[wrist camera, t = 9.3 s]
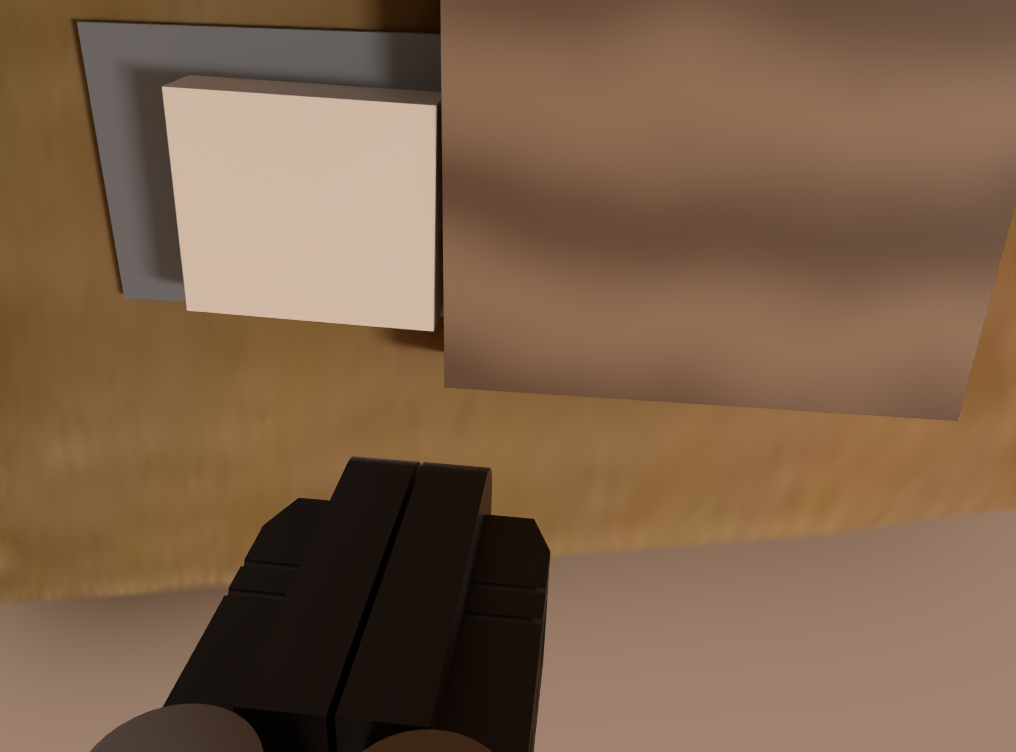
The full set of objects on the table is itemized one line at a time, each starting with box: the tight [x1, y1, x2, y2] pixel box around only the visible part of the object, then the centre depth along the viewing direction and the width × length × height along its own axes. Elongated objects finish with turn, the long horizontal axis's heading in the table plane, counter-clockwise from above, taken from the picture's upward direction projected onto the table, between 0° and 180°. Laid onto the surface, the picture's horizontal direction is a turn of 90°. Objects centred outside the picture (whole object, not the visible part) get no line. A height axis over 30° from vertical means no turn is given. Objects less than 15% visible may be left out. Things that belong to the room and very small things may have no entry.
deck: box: [440, 0, 1016, 421], centre depth 29 cm, size 12×16×2 cm
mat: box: [77, 21, 444, 317], centre depth 31 cm, size 9×12×1 cm
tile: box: [162, 75, 444, 331], centre depth 30 cm, size 7×8×2 cm
